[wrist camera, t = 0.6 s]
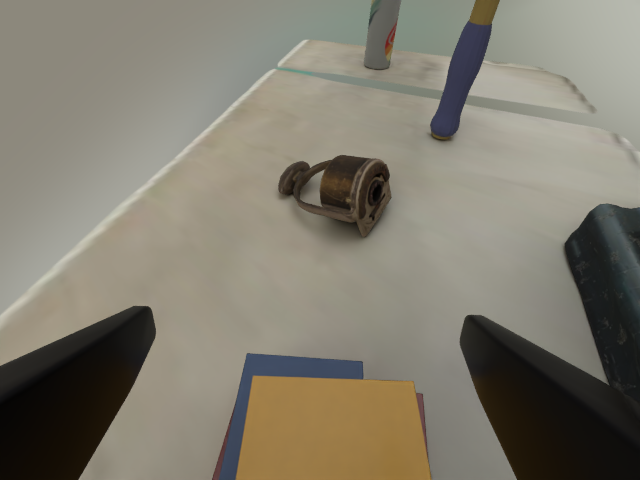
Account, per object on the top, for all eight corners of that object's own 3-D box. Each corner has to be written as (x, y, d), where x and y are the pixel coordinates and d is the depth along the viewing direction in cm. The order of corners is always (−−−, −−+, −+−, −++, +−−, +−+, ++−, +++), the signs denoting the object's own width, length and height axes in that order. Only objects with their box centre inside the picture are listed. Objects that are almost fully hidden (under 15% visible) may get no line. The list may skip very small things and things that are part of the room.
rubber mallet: (401, 143, 46) (490, -212, 24) (399, 121, 51) (471, -188, 29) (487, 153, 45) (661, -206, 23) (476, 129, 50) (610, -183, 28)
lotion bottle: (392, 64, 71) (415, -57, 56) (382, 71, 67) (404, -56, 53) (370, 59, 73) (386, -59, 58) (359, 66, 69) (374, -59, 55)
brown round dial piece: (329, 221, 25) (420, 165, 28) (256, 140, 32) (336, 100, 34) (333, 262, 31) (408, 213, 34) (272, 188, 38) (338, 151, 40)
